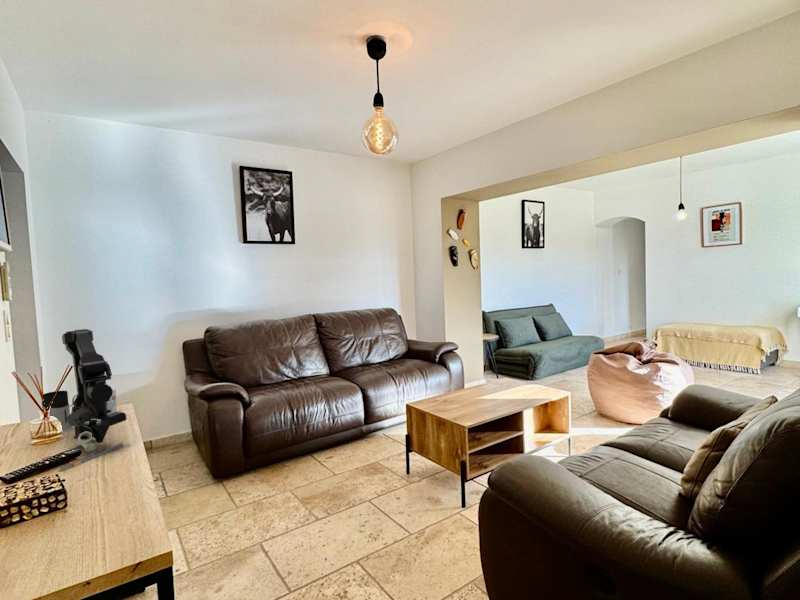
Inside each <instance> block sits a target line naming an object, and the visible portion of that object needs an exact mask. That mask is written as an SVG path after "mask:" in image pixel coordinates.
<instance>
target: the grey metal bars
mask: <svg viewBox="0 0 800 600" xmlns="http://www.w3.org/2000/svg"><path fill="white" fill-rule="evenodd" d="M93 440H94V441H95V442H96V440H95V439H93ZM96 443H97V442H96ZM123 446H124V443H123V442H119V443H117V444H114V445H112V446H109V447H107V448H104V449H101V450H100V451H97V452H95V453H92V454H91V455H88V456H85V457H83V458H81V459H75V460H72V461H69V464H67V465H65V466H62V467H59V472H65V471H67V470H70V469H72V468H76V467H77V466H80V465H82V464H83V463H87V462H89V461H91V460H93V459H96V458H99V457H100V456H102V455H105V454H108V453H110V452H113V451H115V450H117V449H119V448H122V447H123ZM76 449H80V450H82V449H84V448H83V446H82V445H80V444H79V445H77V446H76V447H73V448H70V449H67V450H65V451H63V452H69V451H72V450H76ZM63 452H61V453H63ZM58 454H59V453H57V454H55V455H52V456H51V455H47V456H45V457H43V458H41V460H39V461H36V462H35V463H32V464H31V465H33V464H36V463H39V462H41V461H44V460H47V459H49V458H51V457H53V456H56V455H58Z"/></svg>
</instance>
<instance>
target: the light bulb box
mask: <svg viewBox="0 0 800 600" xmlns="http://www.w3.org/2000/svg"><path fill="white" fill-rule="evenodd" d="M112 390H113V394H112V396H111V398H110V401H107V409H110V410H111V412H110V413H108V414H111V413H114V412H118V408H117V407H118V406H117V394H116V393H117V392H116V391H117V390H116V388H112ZM108 414H107V415H108Z"/></svg>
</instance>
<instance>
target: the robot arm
mask: <svg viewBox="0 0 800 600" xmlns="http://www.w3.org/2000/svg"><path fill="white" fill-rule="evenodd" d="M61 336H62V337H61V340H62V344H63V345H64V346H65V350H66V351H67V352H68V353H69V354H70V355H71V356H72V357H71V358H72V364H73V369H74V376H75V384H76V391H77V394H78V395H77V394H76V395H77V396H76V397H75V398H74V403H73V406H71V412H70V415H69V416H67V417H66V419H67V421H68V422H69V424H70V426H71V427H74V435H75V436H73V439H77V440H78V437H79V434H81V433H83V432H84V431H88V432H91V433H92V438H93V439H94V440H96V443H97V444H101V443H103V441H104V438H105V437H106V434H107V433H108V430H109V428H110V426H114V425H117V424H119V423H122V422H126V421H127V413H125V412H123V411H117V412H114V413H111V414H108V413H110V412H111V410H110V409H107V401H110V398H111V396H112V394H113V390H112V389H113V388H112V387H111V386H110V385H108V384H107V380H112V375H113V373H112V370H111V367H110V364H109V363H108V361H106V360H105V358H104V357H103V355H101V354H99V353H97V351H96V348H95V346H94V342H93V341H94V333H93V330H91V329H88V328H85V329H74V330H71V331H70V330H69V331H66V332H65V333H62V335H61ZM107 414H108V415H107ZM80 439H81V440H89V437H88V436H82V437H81V438H80Z"/></svg>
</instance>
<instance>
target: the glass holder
mask: <svg viewBox="0 0 800 600" xmlns="http://www.w3.org/2000/svg"><path fill="white" fill-rule="evenodd" d="M56 391H58V392H57V394H56V396H55V398H54V399H53V397H54V395H55V393H56ZM56 391H50V392H46V393H43V394H42V395H43V399H44V403H45V404H43V401H42V400H41V409H42V408H44V407H45V408H47V407H48V406H49V404H50V402H51V401H52V399H53V403H52V404H51V408H50V412H49V413H50V416H54V417H56V418H57V419H58V420H59V421H60V422H61V425H62V430H63V434H65V433H68V432H71V431H72V430H73V426H70V424H69V422H68V421H67V419H66V417H67V416H69V415H70V414H71V412H70V410H71V409H70V407H74V405H73V403H74V401H75V399H76V397H77V395H78V393H77V394H76V395H74V396H73V397H72V401H71V403H72V404H71V405H70V404H69V393H68V390H56Z"/></svg>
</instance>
